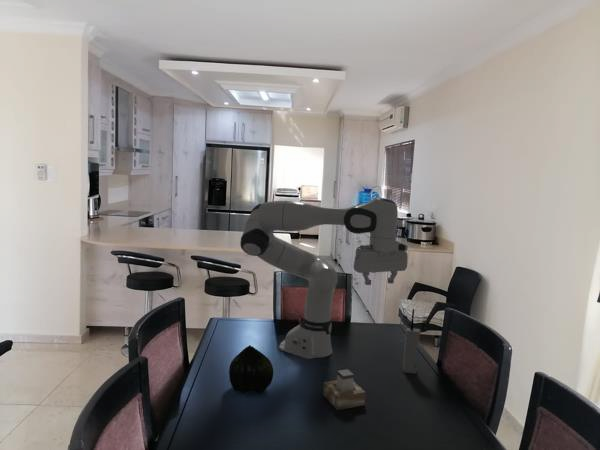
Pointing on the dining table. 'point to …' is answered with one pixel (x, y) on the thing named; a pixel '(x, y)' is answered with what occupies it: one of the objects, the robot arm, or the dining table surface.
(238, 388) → the squash
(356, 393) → the box
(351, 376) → the pale rectangular box
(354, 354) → the dining table surface
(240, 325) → the dining table surface
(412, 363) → the vintage mobile phone
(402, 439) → the dining table surface
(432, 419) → the dining table surface
